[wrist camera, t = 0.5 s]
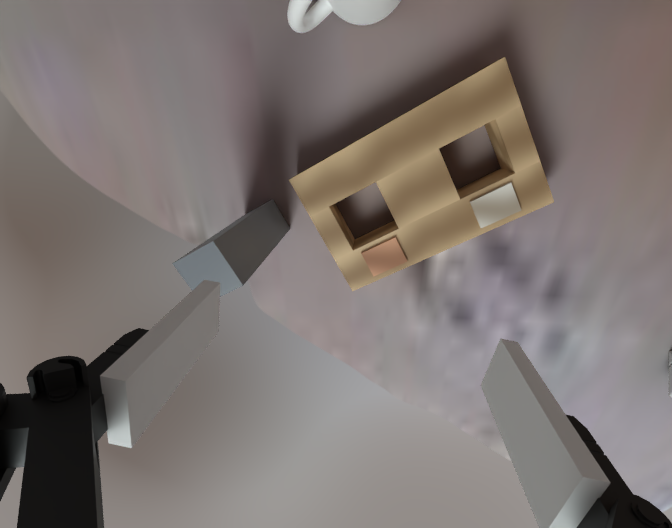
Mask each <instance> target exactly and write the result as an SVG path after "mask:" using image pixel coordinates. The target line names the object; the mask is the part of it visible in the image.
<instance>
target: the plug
mask: <svg viewBox="0 0 672 528" xmlns="http://www.w3.org/2000/svg"><path fill="white" fill-rule="evenodd" d="M289 230H290V227H289V226H288V224H287V222H286V221H285V219H284V217H283V216H282V214H281V212H280V211H279V209H278V207H277V206H276V204H275V202H274V201H273V199H272V200H270V201H268V202H267V203H265V204H263V205H261V206H259V207H258V208H256V209H254V210H252V211H251V212H249V213H247V214H245V215H244V216H242V217H241V218H239V219H238V220H236V221H235V222H233V223H232V224H230V225H229V226H227V227H226V228H224V229H223V230H221V231H220V232H218V233H217V234H215V235H214V236H212V237H211V238H210V239H208V240H207V241H205V242H204V243H202V244H201V245H199V246H198V247H196V248H195V249H193V250H192V251H190V252H189V253H187V254H186V255H185V256H183V257H181V258H180V259H178V260H177V261H175V262H174V263H173V265H174V266H175V268H176V269H177V271H178V272H179V273H180V275H181V276H182V277H183V279H184V280H185V281H186V283H187V284H188V286H189V287H190V288H191V290H192V291H193V290H194V289H195V288H196V287H197V286H198V285H199V284H200V283H201V282H202V281H204V280H209V281H214V282H219V283H220V297H221V296H223V295H225V294H227V293H229V292H231V291H233V290H235V289H237V288H239V287H241V286H243V285H244V284H245V282H246V281H247V280H248V279H249V278H250V277H251V275H252V274H253V273H254V272H255V270H256V269H257V268H258V267H259V266H260V264H261V263H262V262H263V261H264V260H265V258H266V257H267V256H268V255H269V254H270V252H271V251H272V250H273V249H274V248H275V246H276V245H277V244H278V243H279V242H280V240H281V239H282V238H283V237H284V236H285V234H286V233H287V232H288V231H289Z"/></svg>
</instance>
